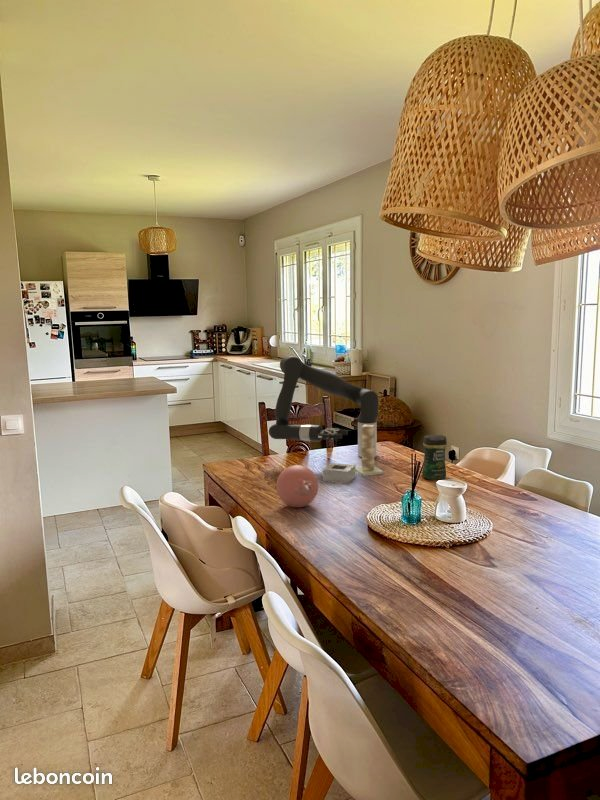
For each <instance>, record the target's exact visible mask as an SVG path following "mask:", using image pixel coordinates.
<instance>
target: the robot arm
mask: <svg viewBox="0 0 600 800" xmlns="http://www.w3.org/2000/svg"><path fill="white" fill-rule="evenodd" d="M279 368H280V370H281V373H283V374H284V376H283V383H282V386H281V389H280V392H279V394H278V397H277V400H276V405H275V410H274V418H275V423H274V424H273V425H271V426H270V427H269V429H268V435H269V436H270V437H271V438H272V439H274V440H296V441H305V442H322V441H323V440H324V441H331V440H342V439H343V436H348V434H349V431H348V429H340V427H339V428H337V427H335V428H334V427H327V428H325V429H323V426H322V425H319V424H290V413H291V409H292V403H293V399H294V395H295V391H296V387H297V385H298V380H299V379H300V380H303V381H305V382H307V383H308V384H310V385H311V386H314V387H316V388H318V389H320V390H322V391H324V392H327V393H328V394H332V395H335V396H338V397H342V398H345V399H347V400H350V402H353V403H354V404H356V405H357V406H359V407H360V414H359V415H358V416H357V456H358V457H360V458H362V426H363V425H374V458H376V457H377V456H378V455H377V442H378V441H377V440H378V439H377V438H378V437H377V436H378V435H377V431H378V430H377V426H378V425H377V419H378V416H379V396H378V394H377V393H376V392H375V391H374V390H371V389H367V388H364V387H360V386H357V385H354V384H352V383H350V382H348V381H347V380H345V379H344V378H343V377H341V376H339V375H337V374H335V373H332V372H330V371H328V370H324V369H323V368H322V369H321V368H317V367H314V366H311V365H308V364H306V363H304V362H302V360H301V359H300V358H299V357H298V356H292V355H287V356H284V357H283V358H282V359H281V360H280V362H279Z"/></svg>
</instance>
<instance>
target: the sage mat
mask: <svg viewBox="0 0 600 800" xmlns="http://www.w3.org/2000/svg"><path fill="white" fill-rule="evenodd" d="M357 472H358V474H359V475H360V476H362V475H363V476H362V477H364V475H365V476H373V475H383V474H384V470H382V469H380V468H379V467H376V466H375V465H374V470H373V471H362V466H360V467H355V473H357Z"/></svg>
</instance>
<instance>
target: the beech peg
mask: <svg viewBox="0 0 600 800" xmlns="http://www.w3.org/2000/svg"><path fill="white" fill-rule="evenodd" d="M374 466H375V457H374V425H363V426H362V457H361V467H362V471H373V470H374Z"/></svg>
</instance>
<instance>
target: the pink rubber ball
mask: <svg viewBox="0 0 600 800" xmlns="http://www.w3.org/2000/svg"><path fill="white" fill-rule="evenodd" d="M276 480H277V481H276V488H275V489H276V491H277V495H278V497H279V499H280V500H281V501H282V502H283V503H284V504H285V505H287V506H289V507H292V508H302V507H306V506H308V505H309V504H311V503H312V502H313V501H314V500H315V499H316V497H317V494H318V492H319V481H318V477H317V476H316V474H315V472H314V471H313V470H312V469H311V468H309V467H307V466H305V465H301V464H295V465H294V464H293V465H290V466H288V467H286V468H285V469H283V470H282V471H281V472H280V473H279V475H278V478H277V479H276Z"/></svg>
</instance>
